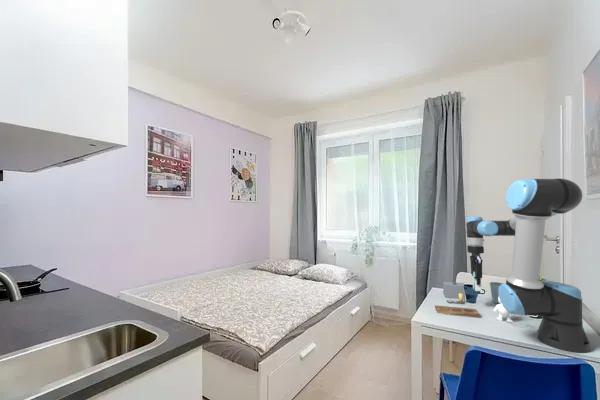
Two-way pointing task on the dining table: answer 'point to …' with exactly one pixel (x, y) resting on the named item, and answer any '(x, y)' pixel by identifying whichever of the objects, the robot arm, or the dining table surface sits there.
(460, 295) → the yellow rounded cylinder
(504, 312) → the figurine
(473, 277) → the peg
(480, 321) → the dining table surface
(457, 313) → the socket board
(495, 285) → the cup
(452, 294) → the housing
